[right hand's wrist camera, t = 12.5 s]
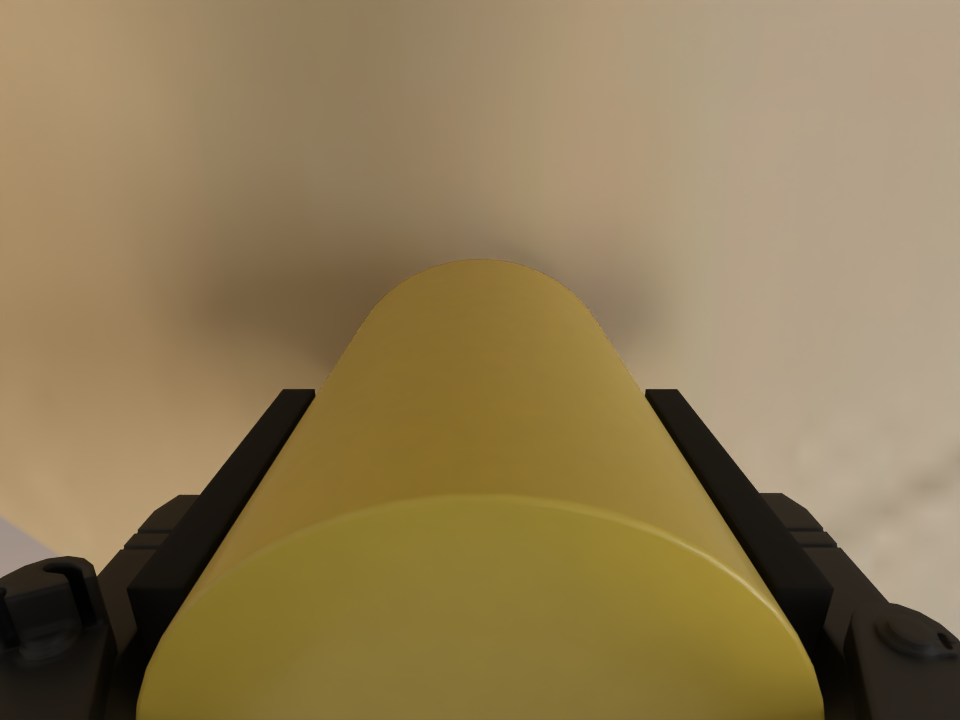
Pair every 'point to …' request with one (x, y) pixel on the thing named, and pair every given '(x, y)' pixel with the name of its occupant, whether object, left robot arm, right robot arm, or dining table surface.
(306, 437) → the can
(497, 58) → the dining table surface
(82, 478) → the dining table surface
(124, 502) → the dining table surface
